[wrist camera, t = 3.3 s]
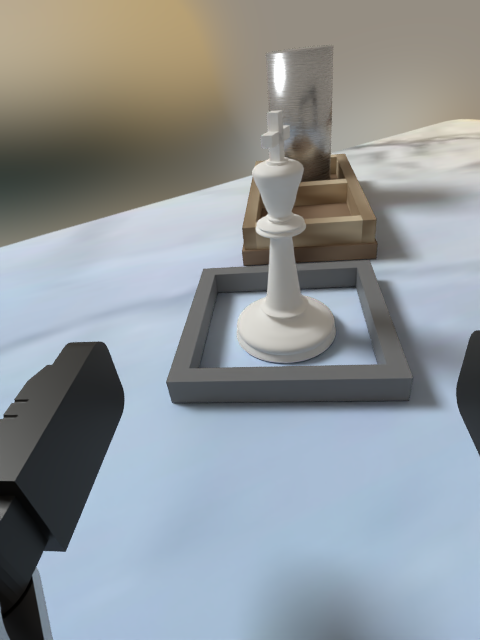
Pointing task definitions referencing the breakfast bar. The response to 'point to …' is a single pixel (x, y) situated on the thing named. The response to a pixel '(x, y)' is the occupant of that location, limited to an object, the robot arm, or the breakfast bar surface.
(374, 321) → the frame
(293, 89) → the steel peg
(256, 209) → the wooden divided tray
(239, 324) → the chess piece
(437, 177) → the breakfast bar surface
